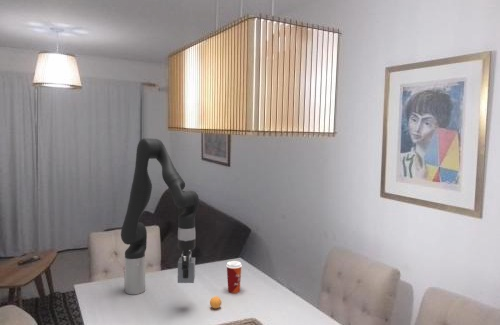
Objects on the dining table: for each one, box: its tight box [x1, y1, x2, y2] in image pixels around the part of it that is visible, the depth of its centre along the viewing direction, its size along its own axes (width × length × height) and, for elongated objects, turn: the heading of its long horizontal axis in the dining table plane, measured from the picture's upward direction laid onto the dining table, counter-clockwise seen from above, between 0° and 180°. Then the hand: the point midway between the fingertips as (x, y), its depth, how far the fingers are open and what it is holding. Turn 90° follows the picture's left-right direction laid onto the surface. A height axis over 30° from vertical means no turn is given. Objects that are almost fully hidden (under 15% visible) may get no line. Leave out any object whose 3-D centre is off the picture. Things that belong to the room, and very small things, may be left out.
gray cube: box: [177, 257, 196, 284], centre depth 171 cm, size 7×7×9 cm
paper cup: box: [225, 260, 243, 294], centre depth 191 cm, size 8×8×14 cm
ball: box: [209, 296, 222, 309], centre depth 173 cm, size 5×5×5 cm
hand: (186, 274), depth 171 cm, fingers closed on gray cube, 7 cm apart
